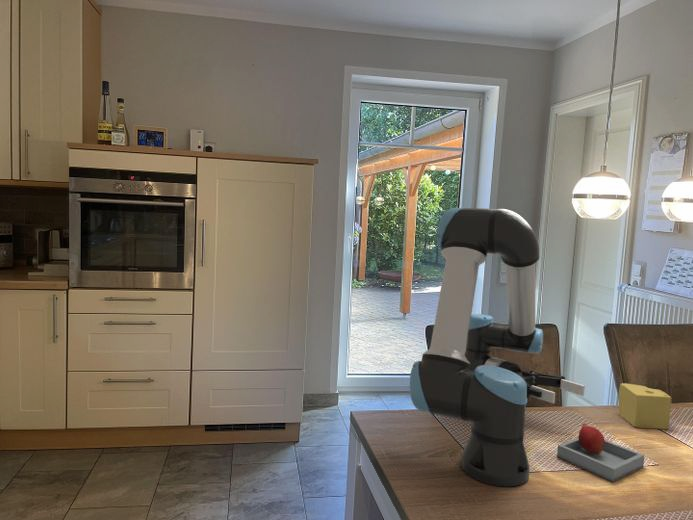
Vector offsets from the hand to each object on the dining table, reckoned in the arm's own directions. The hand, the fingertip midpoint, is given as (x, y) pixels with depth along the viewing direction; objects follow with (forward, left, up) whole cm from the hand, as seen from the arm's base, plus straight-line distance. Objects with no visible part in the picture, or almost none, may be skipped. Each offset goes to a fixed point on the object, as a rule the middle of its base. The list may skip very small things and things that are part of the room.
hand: (569, 394), depth 133 cm
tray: (+5, -9, -13) cm, 17 cm away
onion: (+5, -9, -12) cm, 15 cm away
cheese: (+29, +20, -14) cm, 38 cm away
